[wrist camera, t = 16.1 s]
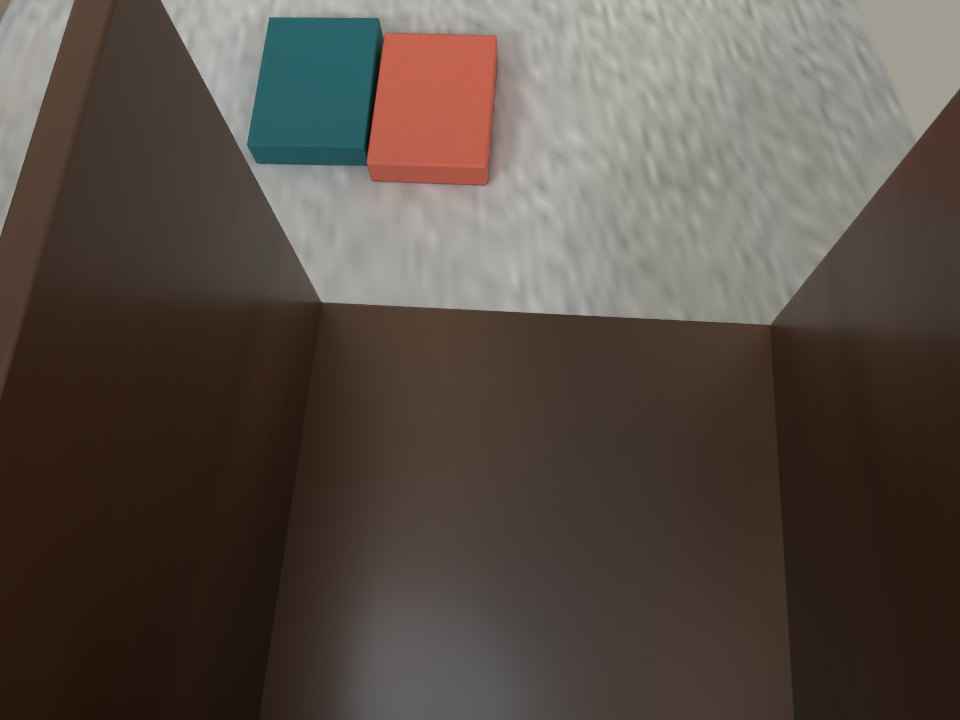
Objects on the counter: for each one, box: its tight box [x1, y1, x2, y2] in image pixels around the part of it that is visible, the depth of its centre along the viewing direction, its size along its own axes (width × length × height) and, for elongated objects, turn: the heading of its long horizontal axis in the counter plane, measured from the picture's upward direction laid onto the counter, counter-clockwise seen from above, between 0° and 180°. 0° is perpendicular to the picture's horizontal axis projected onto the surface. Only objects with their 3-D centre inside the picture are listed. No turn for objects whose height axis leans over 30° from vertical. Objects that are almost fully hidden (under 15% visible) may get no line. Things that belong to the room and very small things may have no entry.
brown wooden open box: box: [0, 0, 960, 720], centre depth 12 cm, size 12×11×11 cm
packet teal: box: [247, 18, 383, 165], centre depth 31 cm, size 4×6×1 cm
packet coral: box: [367, 33, 498, 185], centre depth 30 cm, size 4×6×1 cm
